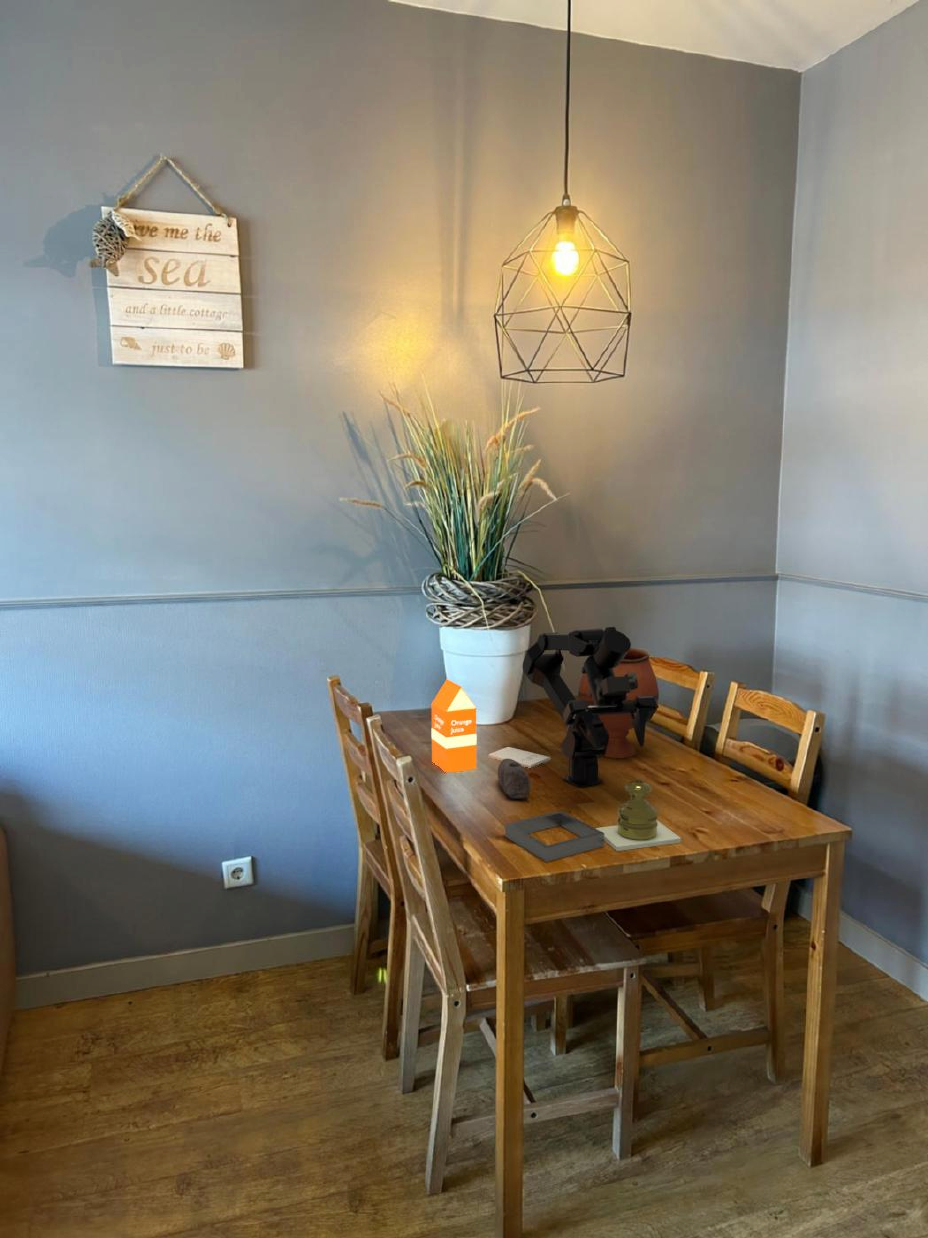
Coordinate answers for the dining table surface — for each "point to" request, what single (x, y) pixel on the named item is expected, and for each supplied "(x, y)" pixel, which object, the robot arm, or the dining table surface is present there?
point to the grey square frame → (585, 842)
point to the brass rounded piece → (637, 813)
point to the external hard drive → (519, 756)
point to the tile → (624, 843)
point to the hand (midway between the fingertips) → (620, 747)
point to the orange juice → (453, 729)
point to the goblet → (624, 701)
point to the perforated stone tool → (513, 779)
